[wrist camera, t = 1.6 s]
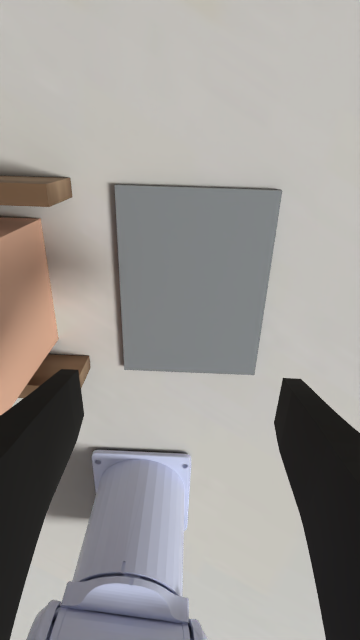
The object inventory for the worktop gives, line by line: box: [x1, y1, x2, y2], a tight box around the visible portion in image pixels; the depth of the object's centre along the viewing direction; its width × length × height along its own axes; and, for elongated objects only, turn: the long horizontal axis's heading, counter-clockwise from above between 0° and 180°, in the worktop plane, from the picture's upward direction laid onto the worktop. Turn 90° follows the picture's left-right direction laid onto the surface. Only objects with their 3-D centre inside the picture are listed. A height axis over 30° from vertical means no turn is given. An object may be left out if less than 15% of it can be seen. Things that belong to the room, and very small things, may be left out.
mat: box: [115, 184, 282, 375], centre depth 21 cm, size 12×9×1 cm
